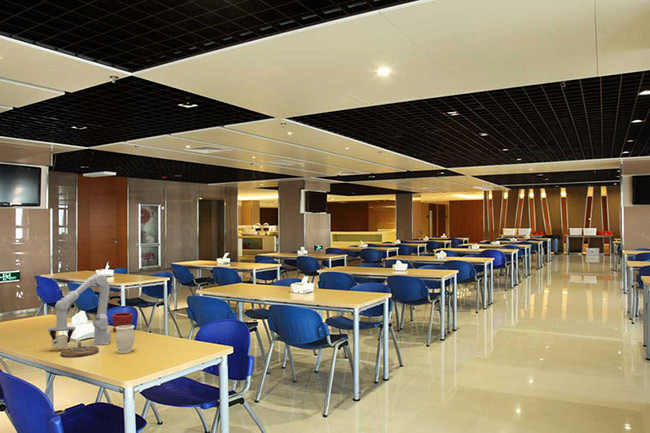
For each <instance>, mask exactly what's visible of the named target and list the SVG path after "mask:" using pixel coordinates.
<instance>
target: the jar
mask: <svg viewBox="0 0 650 433" xmlns="http://www.w3.org/2000/svg"><path fill="white" fill-rule="evenodd" d="M134 329H135V325H133V324H131V325H122V326H117V327H116V331H115V337H114V338H115V344H116V348H117V354H128V352H129V353H131V351H132V352H133V351H134V350H133V346H134V343H135V330H134Z"/></svg>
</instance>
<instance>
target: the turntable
mask: <svg viewBox="0 0 650 433" xmlns="http://www.w3.org/2000/svg"><path fill="white" fill-rule="evenodd" d="M99 351H100V347H98V346H97V345H82V342H81V341H77V346H73V347H68V348H67V347H66V348H64V349H62V350H60V356H62V357H65V358H78V357H87V356H90V355H91V356H92V355H94V354H97V353H99Z"/></svg>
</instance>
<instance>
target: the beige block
mask: <svg viewBox="0 0 650 433" xmlns="http://www.w3.org/2000/svg"><path fill="white" fill-rule="evenodd" d="M54 342H55V344H54ZM68 345H69V343H68V335H67V334H60V335H56V336H55V340H53V339H52V340H51V346H52V347H54V346H55V348H57V349H63V348H64V349H65V348H67V347H68V348H69V346H68Z"/></svg>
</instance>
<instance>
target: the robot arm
mask: <svg viewBox="0 0 650 433" xmlns="http://www.w3.org/2000/svg"><path fill="white" fill-rule="evenodd" d="M92 286H97V287H98V288H99V297H98V304H97V306H98V307H97V312H96V313H97V314H96V315H95V316H94V320H93V322H92V326H93V327H94V329H93V331H94V332H93V334H94V336H93V337H94V338H93V339H94V340H93V343H92V346H99V345H110V343H111V339H112V338H111V337H112V336H111V329H110V328H108V326H109V322H108V318H109V317H108V316H107V312H108V311H107V310H108V302H109V296H110V288H111V286H110V284H109V281H108V278H107V277H106V276H105V275H102V274H98V273H94V274H92V275H91V276H89V277H88V278H87V279H85V281H84V282H83V283H81V285H79V287H77V288H76V289H75V290H71V291H68V292H67V294H66V295H65V296H64V297H61V299H60V300H58V301H56V303H55V305H54V307H55V309H56V321H55V322H56V327H48V328H47V332H48V333H49V335H50V337H51V339H52V340H55V336H57V332H65V331H67V334H66V335H67V340H68V344H70V342H71V337H72V335H73V333H74V331H76V326H68V309H69V308H70V305H72V304H73V303H74V302H75V301H76V300H77V299H78V298H79V297H80V295H81V294H82V293H83V292H84V291H85V290H87V289H88V288H89V287H92ZM54 344H55V342H54Z"/></svg>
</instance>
